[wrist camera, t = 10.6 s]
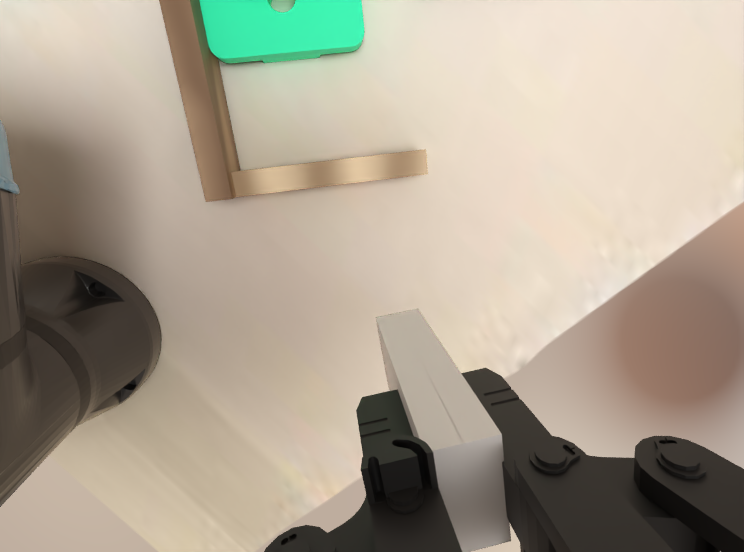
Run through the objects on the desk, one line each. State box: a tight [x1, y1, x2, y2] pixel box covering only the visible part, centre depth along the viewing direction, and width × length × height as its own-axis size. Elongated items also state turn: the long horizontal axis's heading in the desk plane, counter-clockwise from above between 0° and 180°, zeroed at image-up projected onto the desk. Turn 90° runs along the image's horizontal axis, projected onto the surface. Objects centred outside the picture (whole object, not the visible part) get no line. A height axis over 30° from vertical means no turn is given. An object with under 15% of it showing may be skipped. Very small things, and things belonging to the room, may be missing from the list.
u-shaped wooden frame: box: [159, 0, 428, 202], centre depth 31 cm, size 18×20×5 cm
